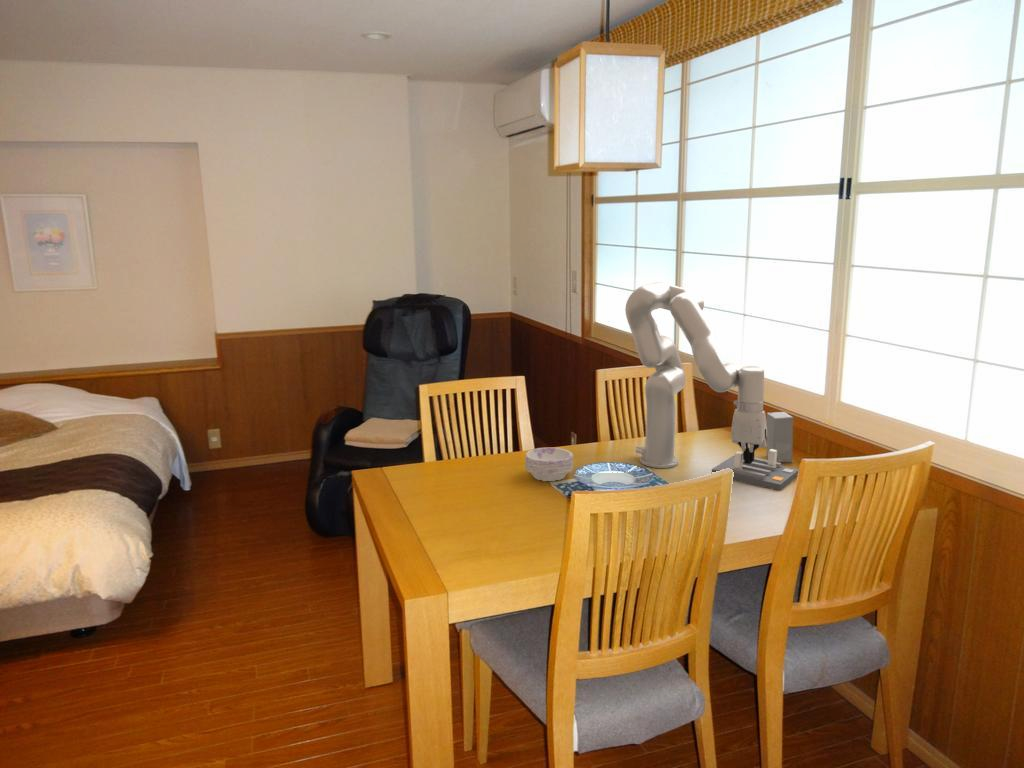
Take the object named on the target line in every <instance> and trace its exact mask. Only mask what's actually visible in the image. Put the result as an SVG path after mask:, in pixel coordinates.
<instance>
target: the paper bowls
mask: <svg viewBox="0 0 1024 768" xmlns="http://www.w3.org/2000/svg"><path fill="white" fill-rule="evenodd" d="M524 460H525V462H524V465H525V466H524V467H525V470H526V471H527V472H529V473H531V475H532V477H533V478H534V479H535V480H538V481H540V480H542V481H541V482H546V481H553V482H556V481H555V480H559V481H562V480H563V479H564V478H565V477H566V476H567V474H568V473H570V472H572V471H573V469H574V454H573V452H572V451H570V450H568V449H566V448H560V447H552V446H551V447H550V446H549V447H537V448H533V449H530V450H528V451H526V453H525V459H524ZM561 479H562V480H561Z"/></svg>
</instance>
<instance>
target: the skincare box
mask: <svg viewBox="0 0 1024 768" xmlns="http://www.w3.org/2000/svg"><path fill="white" fill-rule="evenodd" d="M766 421H767V440H766V444H767V446H766V452H765V453H766V454H765V455H766V457H768V453H769V450H770V449H774V450H777V459H776V462H778V463H793V451H794V450H793V443H794V442H793V441H794V435H793V434H794V416H792V415H790V414H789V413H787V412H786V411H775V412H767V413H766Z"/></svg>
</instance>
